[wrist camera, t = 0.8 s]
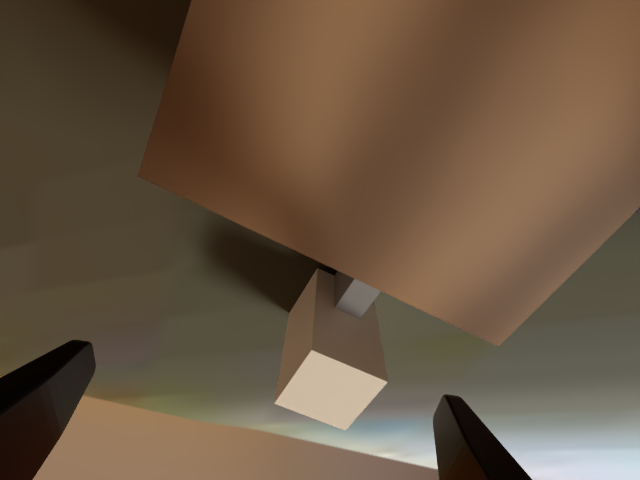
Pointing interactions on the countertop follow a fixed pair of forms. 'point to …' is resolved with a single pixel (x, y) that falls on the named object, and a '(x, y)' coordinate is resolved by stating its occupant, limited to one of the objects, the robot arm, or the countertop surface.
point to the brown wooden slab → (413, 139)
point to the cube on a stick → (332, 351)
